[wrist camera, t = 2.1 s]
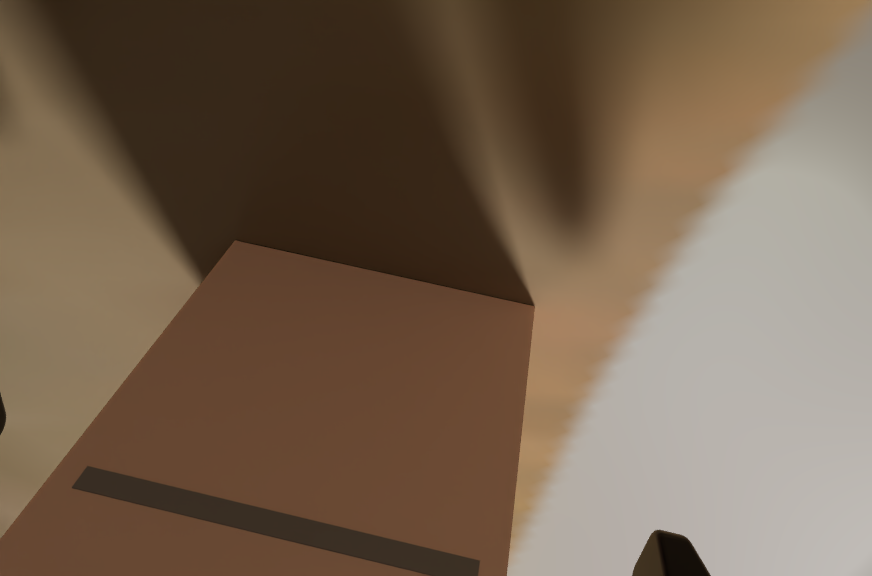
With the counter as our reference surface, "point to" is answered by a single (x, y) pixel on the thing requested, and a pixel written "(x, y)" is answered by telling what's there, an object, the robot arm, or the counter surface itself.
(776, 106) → the counter surface
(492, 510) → the terracotta domino
